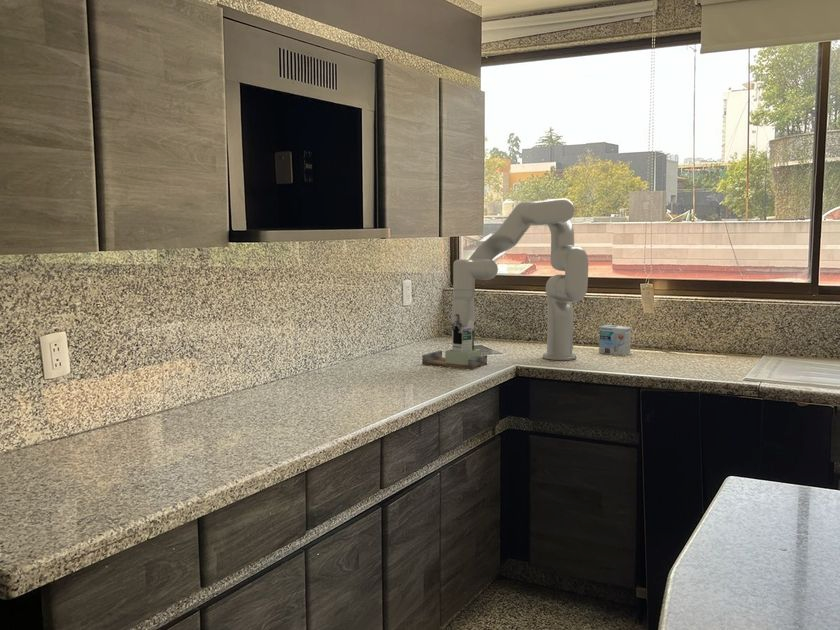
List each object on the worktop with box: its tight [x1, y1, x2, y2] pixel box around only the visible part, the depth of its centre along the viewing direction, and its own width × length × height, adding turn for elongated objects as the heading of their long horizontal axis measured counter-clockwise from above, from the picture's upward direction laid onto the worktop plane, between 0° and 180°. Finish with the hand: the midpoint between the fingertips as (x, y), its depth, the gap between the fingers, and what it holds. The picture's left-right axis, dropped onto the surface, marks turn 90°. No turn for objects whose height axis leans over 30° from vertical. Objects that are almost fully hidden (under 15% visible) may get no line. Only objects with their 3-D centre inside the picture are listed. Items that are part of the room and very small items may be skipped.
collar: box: [444, 348, 482, 365], centre depth 275 cm, size 9×9×4 cm
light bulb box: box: [598, 324, 632, 356], centre depth 301 cm, size 11×7×11 cm, turn 55°
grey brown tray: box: [421, 350, 488, 371], centre depth 277 cm, size 12×20×4 cm, turn 59°
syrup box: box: [451, 320, 475, 353], centre depth 274 cm, size 6×6×14 cm
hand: (464, 342), depth 274 cm, fingers open, 9 cm apart
